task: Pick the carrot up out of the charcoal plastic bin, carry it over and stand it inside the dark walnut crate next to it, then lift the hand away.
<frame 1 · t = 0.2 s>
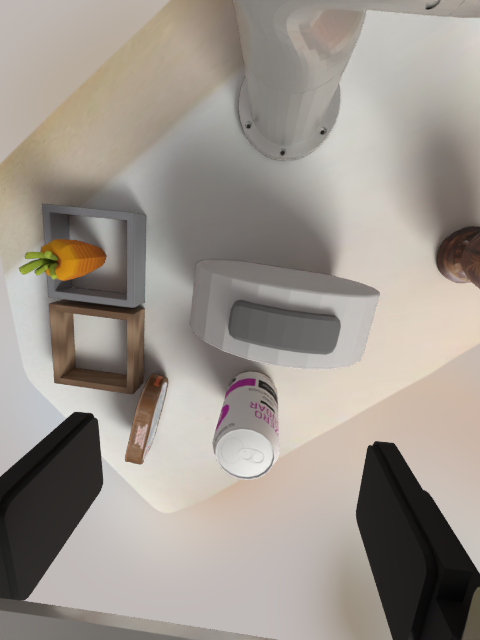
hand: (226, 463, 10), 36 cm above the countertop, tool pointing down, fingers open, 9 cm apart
tin: (157, 404, 53), on the countertop
charcoal bin: (104, 255, 46), on the countertop
carrot: (105, 255, 47), on the countertop
walnut crate: (105, 341, 50), on the countertop
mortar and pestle: (455, 247, 41), on the countertop
supplement can: (252, 391, 50), on the countertop
alarm clock: (278, 292, 45), on the countertop
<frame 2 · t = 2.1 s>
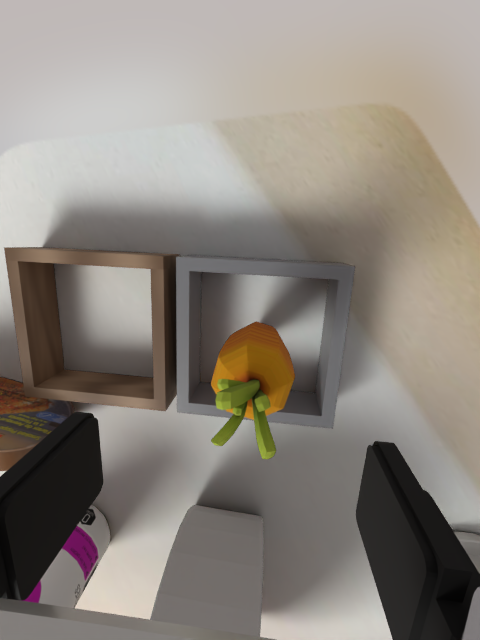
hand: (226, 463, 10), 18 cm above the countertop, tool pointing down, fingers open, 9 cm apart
tin: (25, 394, 32), on the countertop
charcoal bin: (260, 331, 27), on the countertop
carrot: (260, 331, 28), on the countertop
walnut crate: (113, 320, 29), on the countertop
supplement can: (81, 522, 36), on the countertop
alarm clock: (223, 556, 35), on the countertop
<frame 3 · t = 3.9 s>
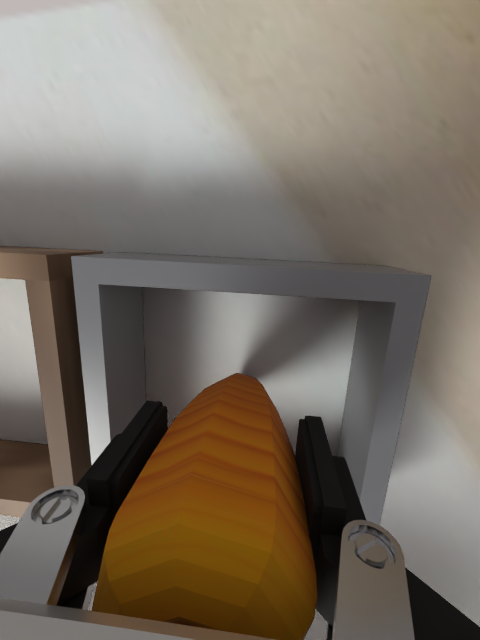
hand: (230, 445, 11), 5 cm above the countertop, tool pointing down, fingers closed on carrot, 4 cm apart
charcoal bin: (243, 380, 16), on the countertop
carrot: (243, 378, 17), on the countertop, touching gripper
walnut crate: (3, 360, 18), on the countertop
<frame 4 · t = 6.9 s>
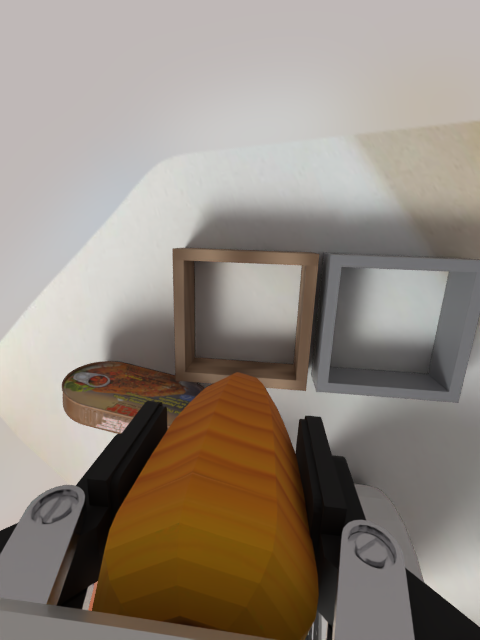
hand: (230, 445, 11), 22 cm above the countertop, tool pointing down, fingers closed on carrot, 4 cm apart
tin: (154, 381, 36), on the countertop
charcoal bin: (381, 320, 31), on the countertop
carrot: (243, 378, 17), point 16 cm above the countertop, touching gripper
walnut crate: (245, 312, 32), on the countertop
alarm clock: (327, 524, 38), on the countertop
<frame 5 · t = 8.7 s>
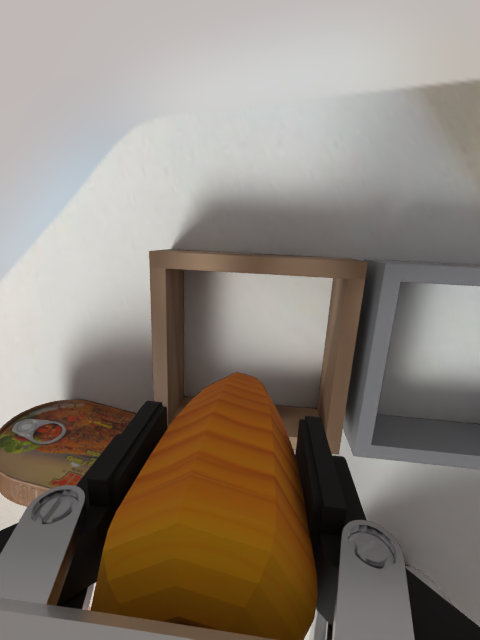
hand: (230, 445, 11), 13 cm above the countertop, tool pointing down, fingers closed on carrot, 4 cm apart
tin: (130, 425, 27), on the countertop
charcoal bin: (442, 353, 22), on the countertop
carrot: (243, 378, 17), point 7 cm above the countertop, touching gripper
walnut crate: (252, 339, 24), on the countertop
alarm clock: (354, 608, 30), on the countertop
when the fingers open (6 cm above the countertop, at t = 10.3 s): carrot stays where it is, on the countertop.
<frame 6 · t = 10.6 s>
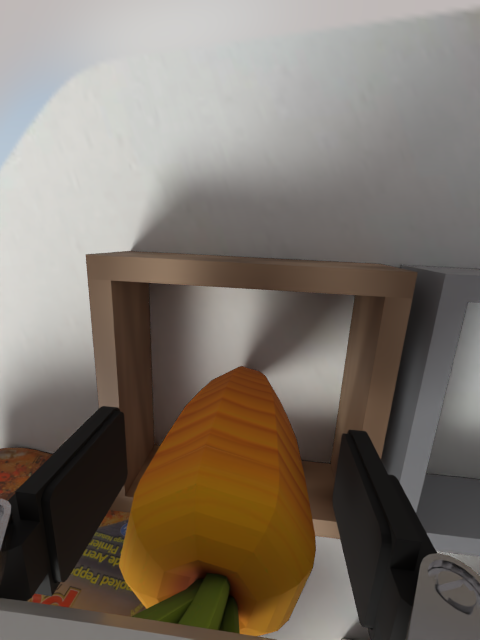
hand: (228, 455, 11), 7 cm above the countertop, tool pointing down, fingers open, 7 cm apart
tin: (86, 478, 21), on the countertop
carrot: (247, 372, 18), on the countertop
walnut crate: (244, 372, 17), on the countertop
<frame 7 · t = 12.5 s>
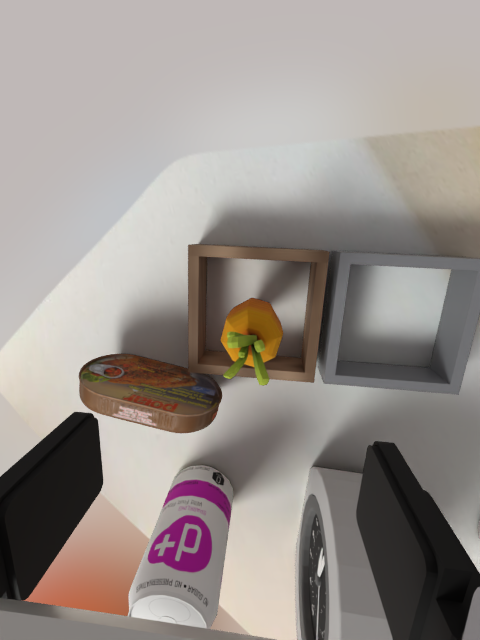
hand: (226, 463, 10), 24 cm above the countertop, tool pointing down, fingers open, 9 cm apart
tin: (165, 373, 37), on the countertop
charcoal bin: (386, 315, 32), on the countertop
carrot: (256, 307, 34), on the countertop
walnut crate: (255, 307, 33), on the countertop
supplement can: (203, 486, 41), on the countertop
alarm clock: (330, 512, 40), on the countertop
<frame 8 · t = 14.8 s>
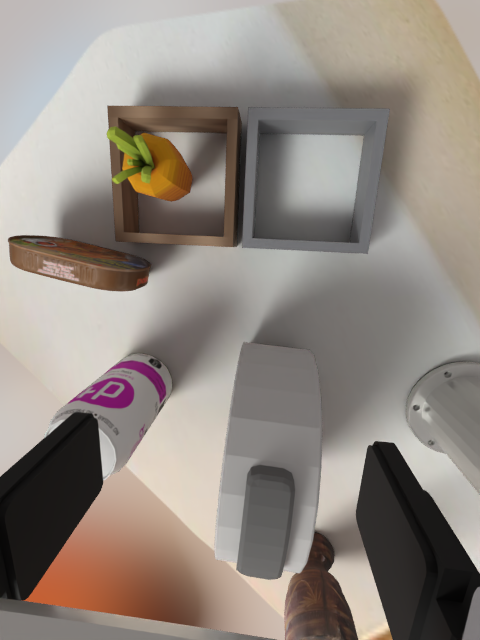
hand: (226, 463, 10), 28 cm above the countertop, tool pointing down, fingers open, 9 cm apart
tin: (103, 260, 38), on the countertop
charcoal bin: (305, 189, 34), on the countertop
carrot: (184, 186, 35), on the countertop
walnut crate: (183, 185, 35), on the countertop
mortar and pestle: (315, 541, 46), on the countertop
supplement can: (145, 378, 42), on the countertop
alarm clock: (267, 402, 41), on the countertop
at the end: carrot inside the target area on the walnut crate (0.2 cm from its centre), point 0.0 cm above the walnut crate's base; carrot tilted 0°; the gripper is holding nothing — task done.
